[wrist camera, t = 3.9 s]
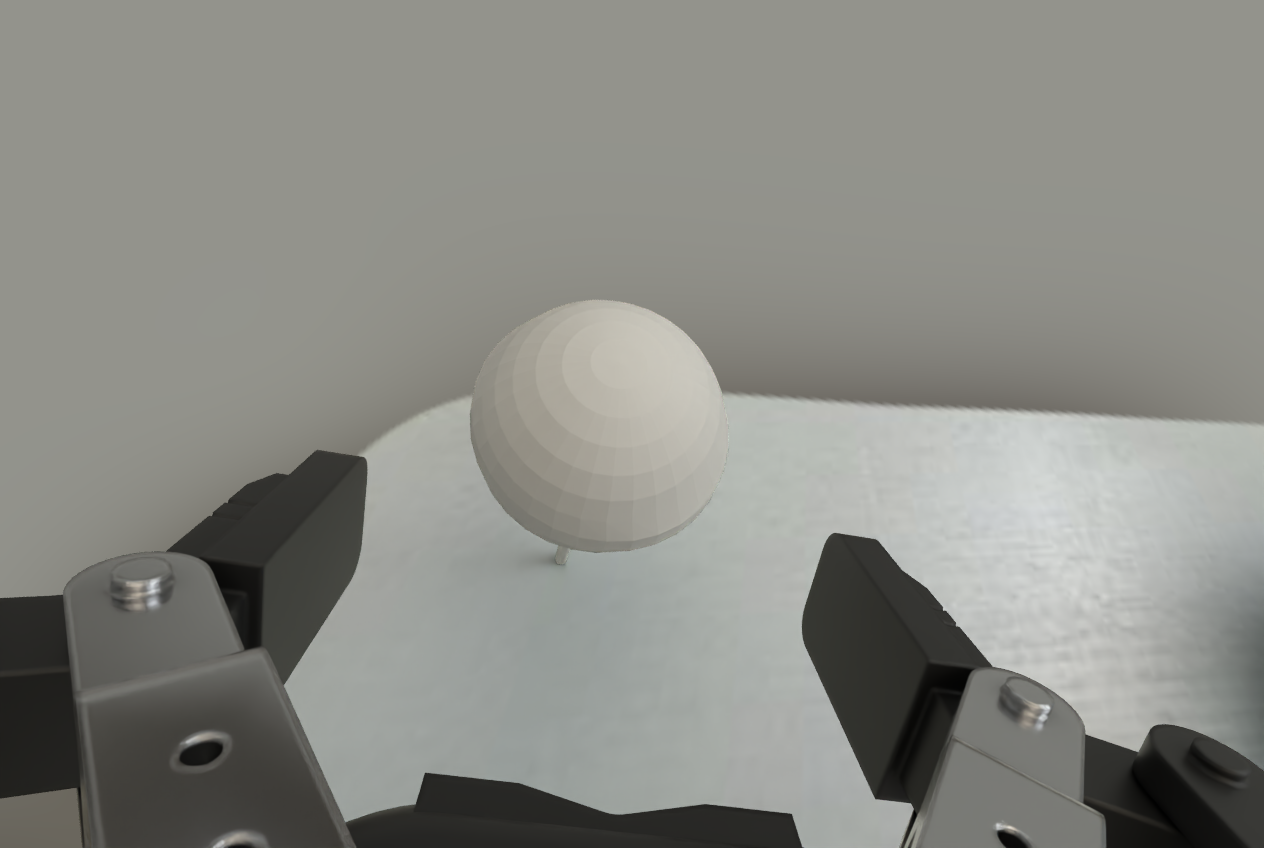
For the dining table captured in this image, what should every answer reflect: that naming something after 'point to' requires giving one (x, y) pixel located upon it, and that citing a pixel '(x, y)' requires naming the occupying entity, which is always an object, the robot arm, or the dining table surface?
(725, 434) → the lollipop
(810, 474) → the dining table surface
